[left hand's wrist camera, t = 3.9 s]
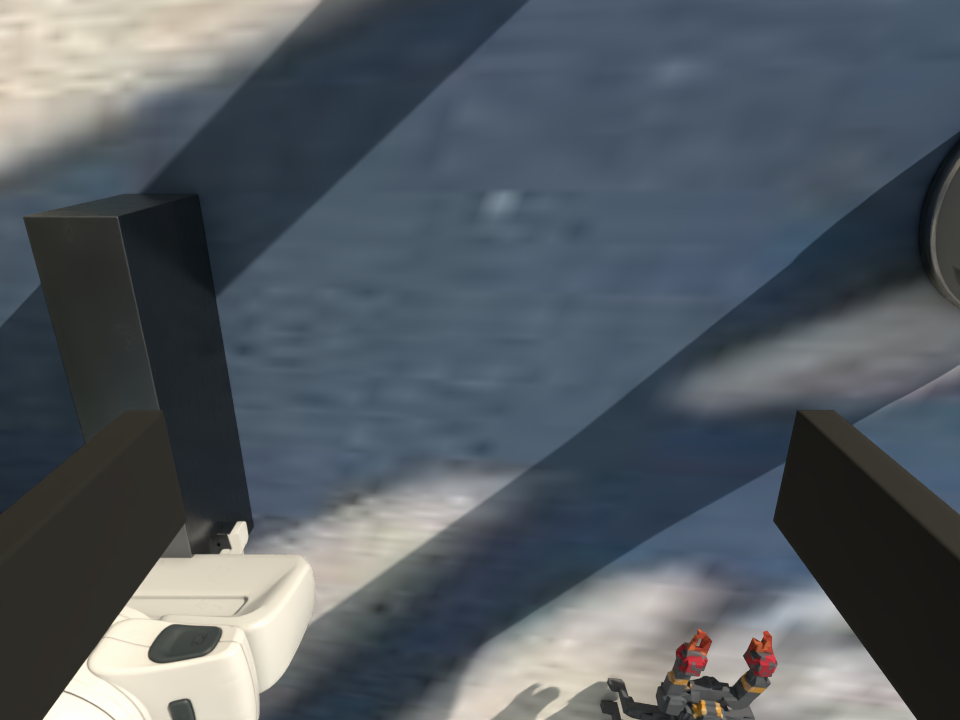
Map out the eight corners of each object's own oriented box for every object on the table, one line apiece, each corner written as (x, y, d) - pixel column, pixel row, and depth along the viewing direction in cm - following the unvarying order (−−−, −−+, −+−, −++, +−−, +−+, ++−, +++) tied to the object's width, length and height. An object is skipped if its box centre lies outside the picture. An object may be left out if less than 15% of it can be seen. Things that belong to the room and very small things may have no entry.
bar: (124, 193, 40) (22, 216, 31) (198, 193, 40) (117, 216, 31) (194, 526, 50) (132, 616, 41) (253, 526, 50) (204, 616, 41)
